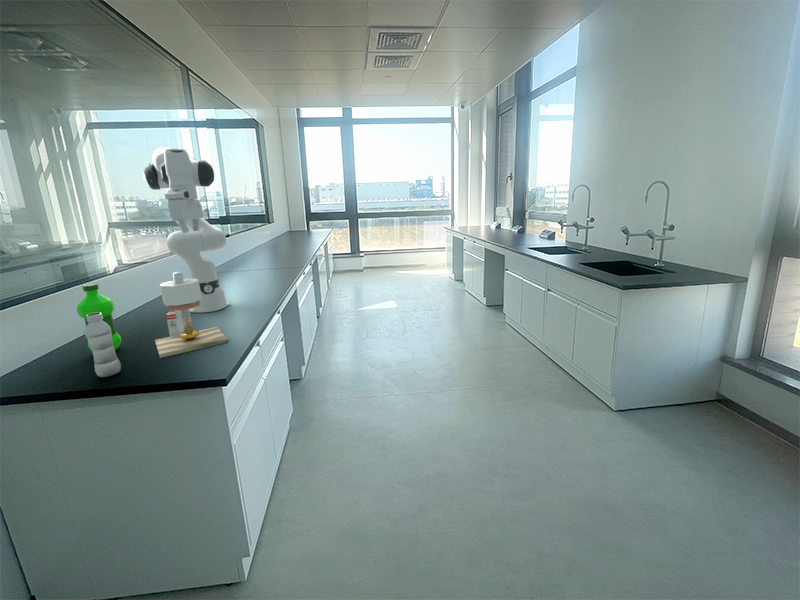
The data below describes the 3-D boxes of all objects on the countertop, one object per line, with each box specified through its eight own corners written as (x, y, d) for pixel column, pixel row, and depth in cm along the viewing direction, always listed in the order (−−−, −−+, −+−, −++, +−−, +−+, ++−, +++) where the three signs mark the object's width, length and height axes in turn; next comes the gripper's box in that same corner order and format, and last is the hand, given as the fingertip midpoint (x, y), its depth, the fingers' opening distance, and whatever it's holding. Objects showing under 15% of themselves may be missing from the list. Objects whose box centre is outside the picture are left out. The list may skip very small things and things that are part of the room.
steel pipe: (179, 338, 148) (166, 272, 141) (198, 334, 152) (186, 270, 145) (182, 343, 143) (168, 275, 136) (201, 339, 146) (188, 272, 140)
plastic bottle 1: (82, 357, 139) (63, 288, 132) (107, 346, 149) (91, 281, 142) (107, 357, 137) (89, 288, 131) (131, 346, 147) (115, 281, 141)
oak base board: (155, 343, 149) (154, 339, 148) (217, 330, 161) (217, 326, 160) (159, 358, 134) (159, 353, 134) (227, 342, 146) (226, 338, 146)
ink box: (170, 338, 153) (162, 303, 149) (174, 332, 161) (167, 298, 157) (180, 337, 154) (173, 301, 150) (184, 331, 162) (177, 297, 158)
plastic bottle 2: (127, 370, 126) (112, 310, 120) (110, 379, 119) (94, 317, 114) (109, 370, 126) (93, 311, 121) (91, 379, 120) (74, 317, 115)
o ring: (167, 306, 145) (166, 302, 145) (196, 301, 151) (196, 297, 150) (170, 312, 137) (169, 307, 137) (201, 306, 143) (200, 302, 142)
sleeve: (162, 301, 145) (158, 282, 143) (198, 295, 151) (194, 277, 150) (165, 307, 135) (161, 287, 133) (203, 300, 142) (200, 282, 140)
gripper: (187, 195, 156) (194, 230, 160) (161, 194, 136) (170, 234, 140) (203, 194, 157) (210, 229, 160) (180, 193, 137) (188, 233, 140)
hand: (191, 231), depth 150 cm, fingers open, 8 cm apart
